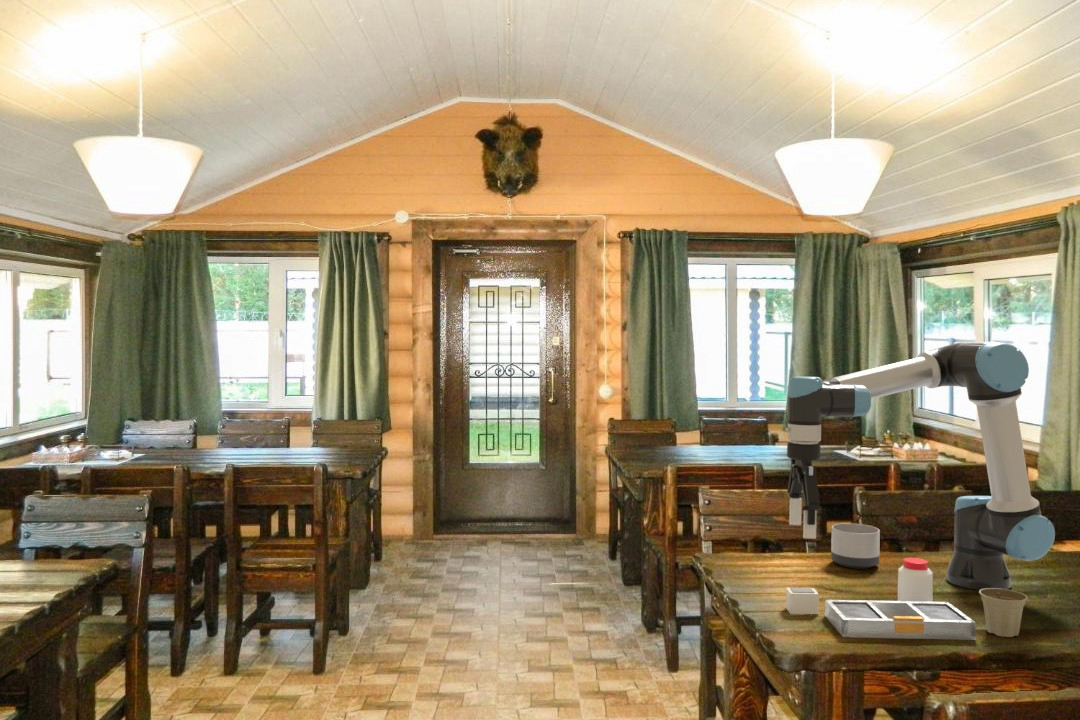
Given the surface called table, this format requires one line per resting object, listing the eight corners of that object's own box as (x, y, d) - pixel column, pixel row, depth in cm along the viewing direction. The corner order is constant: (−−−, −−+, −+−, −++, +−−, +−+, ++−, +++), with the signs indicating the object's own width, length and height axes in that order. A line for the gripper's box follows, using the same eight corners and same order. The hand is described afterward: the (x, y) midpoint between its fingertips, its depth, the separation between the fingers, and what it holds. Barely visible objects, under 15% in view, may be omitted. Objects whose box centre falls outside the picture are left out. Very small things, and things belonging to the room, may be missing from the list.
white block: (813, 608, 204) (813, 587, 203) (818, 615, 199) (818, 593, 199) (785, 608, 204) (786, 586, 204) (790, 614, 199) (790, 592, 199)
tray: (947, 618, 197) (947, 599, 197) (975, 640, 183) (976, 620, 182) (824, 615, 198) (825, 597, 198) (843, 637, 184) (843, 617, 184)
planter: (822, 564, 242) (823, 528, 242) (844, 556, 251) (845, 521, 251) (865, 573, 233) (866, 536, 233) (887, 565, 242) (887, 528, 241)
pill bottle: (930, 612, 201) (930, 566, 200) (895, 607, 205) (895, 561, 204) (934, 604, 207) (935, 559, 207) (900, 598, 211) (901, 554, 211)
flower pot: (969, 625, 192) (970, 588, 191) (1008, 624, 192) (1009, 587, 192) (995, 641, 182) (995, 601, 182) (1036, 639, 183) (1037, 600, 183)
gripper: (776, 435, 213) (774, 519, 214) (800, 448, 188) (799, 543, 189) (806, 435, 213) (804, 520, 213) (835, 449, 188) (833, 544, 188)
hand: (802, 531), depth 201 cm, fingers open, 13 cm apart
